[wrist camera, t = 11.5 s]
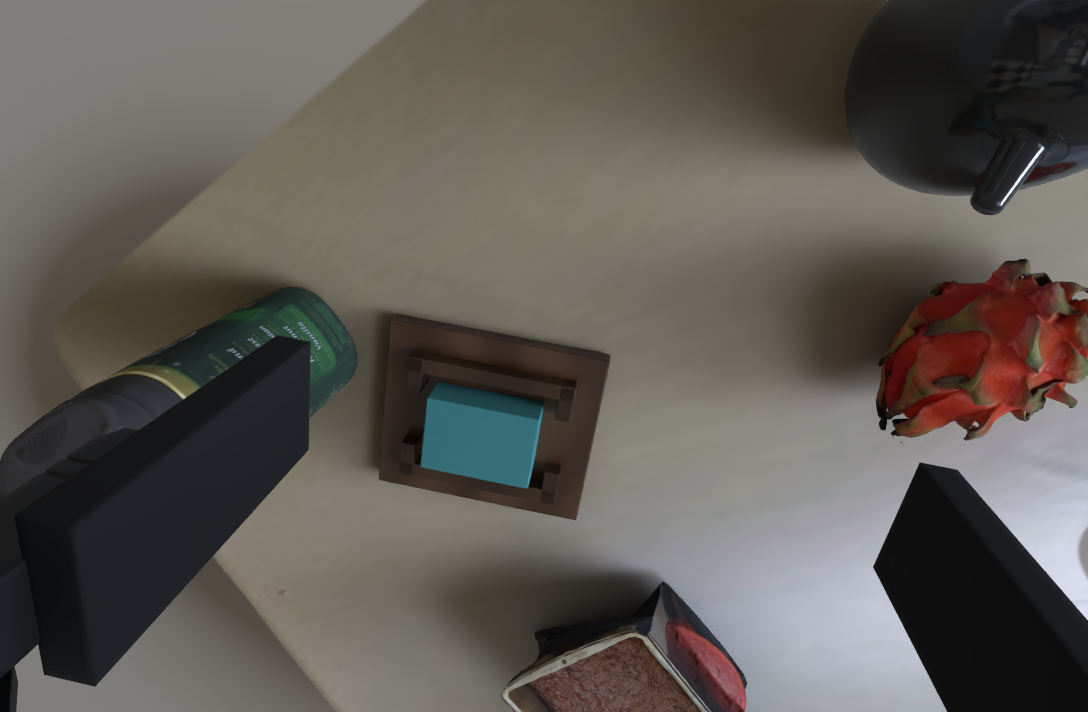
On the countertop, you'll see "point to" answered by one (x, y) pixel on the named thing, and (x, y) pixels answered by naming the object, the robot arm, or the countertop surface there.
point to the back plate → (498, 367)
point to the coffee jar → (184, 378)
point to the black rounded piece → (972, 95)
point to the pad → (481, 434)
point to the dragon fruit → (985, 353)
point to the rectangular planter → (631, 665)
